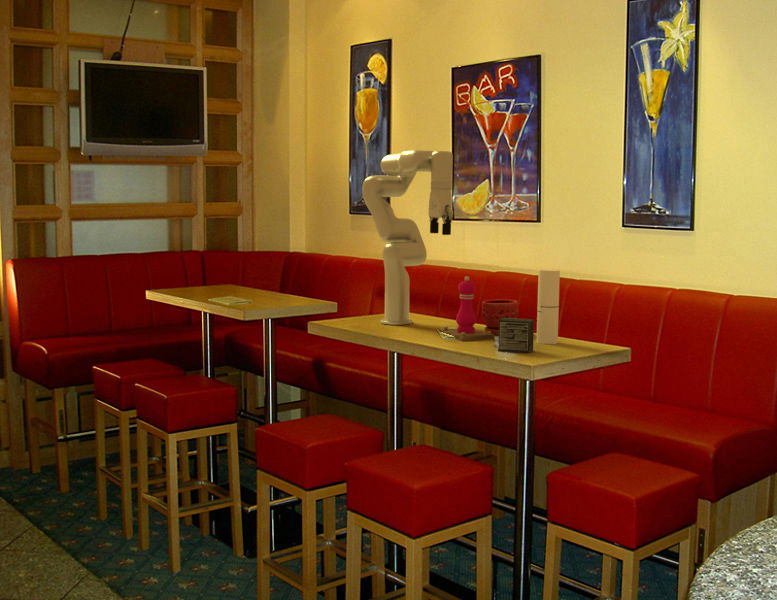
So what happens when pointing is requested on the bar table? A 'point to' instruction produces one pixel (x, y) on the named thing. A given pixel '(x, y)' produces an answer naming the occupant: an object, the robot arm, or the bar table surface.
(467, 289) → the pepper mill
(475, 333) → the serving board
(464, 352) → the bar table surface
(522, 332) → the small box
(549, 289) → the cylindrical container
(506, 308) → the plant pot
